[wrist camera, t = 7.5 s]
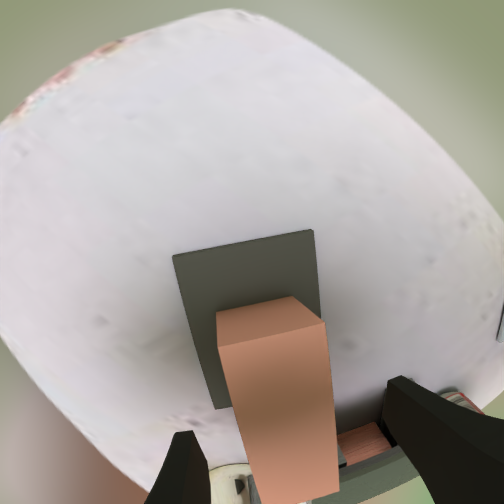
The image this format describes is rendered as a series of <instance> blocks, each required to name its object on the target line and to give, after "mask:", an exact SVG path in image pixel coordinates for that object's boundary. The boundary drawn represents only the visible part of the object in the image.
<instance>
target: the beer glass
mask: <svg viewBox="0 0 504 504" xmlns="http://www.w3.org/2000/svg"><path fill="white" fill-rule="evenodd" d="M209 477H210V483H211V504H262V503H261V499H260V496H259V493H258V490H257V487H256V484H255V481H254V478H253V474H252V471H251V468H250V465H249V464H233V465H226V466H222V467H219V468H216V469H213V470H211V471H209Z"/></svg>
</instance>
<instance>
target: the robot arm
mask: <svg viewBox="0 0 504 504" xmlns="http://www.w3.org/2000/svg"><path fill="white" fill-rule="evenodd" d="M497 341H498V342H499V343H501V342H503V341H504V313H503V318H502V322H501V326H500V331H499V335H498V339H497ZM382 416H383V418H384V420H385V422H386V424H387V426H388V428H389V430H390V432H391V434H392V436H393V437H394V439H395V440H396V442H397V443H398V445H399V446H400V448H401V449H402V450H403V452H404V453H405V455H406V456H407V457H408V459H409V460H410V462H411V463H412V464H413V466H414V467H415V469H416V470H417V471H418V473H419V474H420V476H421V478H422V479H423V481H424V483H425V485H426V486H427V488H428V490H429V492H430V494H431V496H432V498H433V501H434V503H435V504H504V420H503V419H499V418H494V417H491V416H487V415H484V414H481V413H478V412H475V411H472V410H470V409H467V408H465V407H462V406H460V405H457V404H455V403H453V402H451V401H449V400H447V399H445V398H443V397H441V396H439V395H437V394H435V393H433V392H431V391H429V390H427V389H426V388H424V387H422V386H420V385H418V384H416V383H415V382H413V381H411V380H409V379H407V378H406V377H404V376H402V375H400V376H398V377H395V378H393V379H390V380H388V382H387V389H386V396H385V403H384V409H383V415H382ZM144 504H211V483H210V477H209V470H208V463H207V460H206V458H205V456H204V454H203V452H202V450H201V448H200V445H199V443H198V441H197V439H196V437H195V434H194V432H193V430H191V431H183V432H176V433H175V434H174V436H173V439H172V442H171V445H170V448H169V450H168V453H167V456H166V458H165V461H164V463H163V466H162V468H161V470H160V472H159V475H158V477H157V479H156V481H155V483H154V485H153V487H152V489H151V491H150V493H149V495H148V497H147V499H146V501H145V503H144Z"/></svg>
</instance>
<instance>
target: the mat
mask: <svg viewBox="0 0 504 504" xmlns="http://www.w3.org/2000/svg"><path fill="white" fill-rule="evenodd" d="M172 259H173V264H174V268H175V272H176V276H177V280H178V284H179V288H180V292H181V296H182V300H183V304H184V307H185V311H186V315H187V319H188V322H189V326H190V330H191V333H192V337H193V340H194V344H195V347H196V350H197V354H198V357H199V361H200V364H201V367H202V370H203V374H204V377H205V380H206V383H207V386H208V389H209V393H210V396H211V399H212V402H213V405H214V408H215V410H216V409H222V408H228V407H233V405H232V402H231V398H230V394H229V390H228V386H227V383H226V379H225V375H224V371H223V367H222V363H221V359H220V355H219V351H218V345H217V325H216V312H218V311H223V310H228V309H233V308H238V307H243V306H248V305H253V304H257V303H262V302H266V301H271V300H276V299H280V298H284V297H289V296H293V297H294V298H295V299H297V300H298V301H299V302H300V303H302V304H303V305H304V306H305V307H306V308H308V309H309V310H310V311H311V312H313V313H314V314H315V315H316V316H318V317H319V318H320V319H321V313H320V299H319V285H318V273H317V262H316V251H315V241H314V231H313V230H311V229H309V230H303V231H298V232H293V233H287V234H282V235H277V236H271V237H266V238H261V239H255V240H250V241H245V242H240V243H234V244H229V245H224V246H219V247H214V248H209V249H203V250H198V251H193V252H188V253H183V254H178V255H173V257H172Z"/></svg>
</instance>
